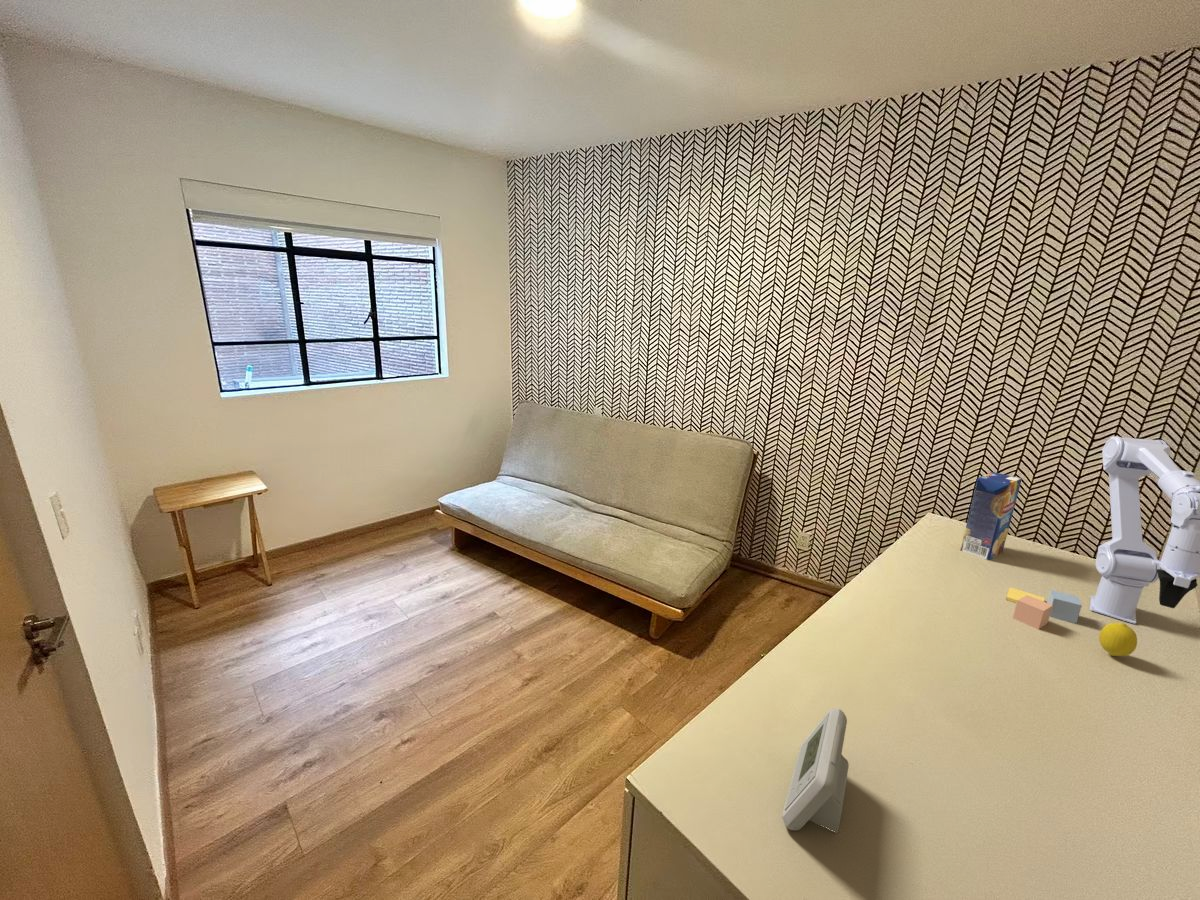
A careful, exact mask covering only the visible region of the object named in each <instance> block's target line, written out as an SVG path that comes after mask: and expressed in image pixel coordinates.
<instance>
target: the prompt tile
mask: <svg viewBox="0 0 1200 900" xmlns="http://www.w3.org/2000/svg"><path fill="white" fill-rule="evenodd" d="M1026 595H1028V596H1031V597H1033V598H1036V599H1038V600H1041V601H1043V602H1045V597H1043V596H1040V595H1037V594H1033V593H1031V592H1027V591H1024V590H1022V589H1021V590H1020V589H1017V588H1014V587H1011V586H1010V587H1009V589H1008V592H1007V594H1006V596H1005V597H1006V598H1005V600H1006V601H1009V602H1012V603H1016V604H1017V601H1018V600H1019V599H1021V598H1023V597H1024V596H1026Z"/></svg>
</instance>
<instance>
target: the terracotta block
mask: <svg viewBox="0 0 1200 900" xmlns="http://www.w3.org/2000/svg"><path fill="white" fill-rule="evenodd" d="M1052 607H1053V605H1051V604H1048V603H1047V602H1046V601H1044V602H1043V601H1041V600H1038V599H1036V598H1033V597H1031V596H1028V595H1026V596H1024V597H1023V598H1021V599H1019V600H1018V601H1017V603H1016V605H1015V610H1014V612H1013V617H1012V619H1013V620H1016V621H1018V622H1020V623H1023V624H1025V625H1027V626H1029V627H1032V628H1035V629H1036V630H1040V629H1041V628H1043V627H1044V626H1046V625H1047V624H1048V622H1049V619H1050V618H1051V617H1050V613H1051V610H1052Z"/></svg>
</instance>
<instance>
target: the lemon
mask: <svg viewBox="0 0 1200 900" xmlns="http://www.w3.org/2000/svg"><path fill="white" fill-rule="evenodd" d="M1098 635H1099V636H1098V640H1099V641H1098V642H1099V644H1100V646H1101V647H1102V649H1104V651H1106V652H1107V653H1108V654H1109V655H1110V656H1112V657H1126V656H1129V655H1131V654H1132V653H1134V652H1135V651H1136V648H1137V646H1138V636H1137V633H1136V632H1135V631H1134V630H1133V628H1132V627H1130V626H1129V625H1127V624H1126V623H1124V622H1112V623H1111V622H1110V623H1108V624H1105V626H1103V627H1102V629H1101V630H1100V632H1099V634H1098Z"/></svg>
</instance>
